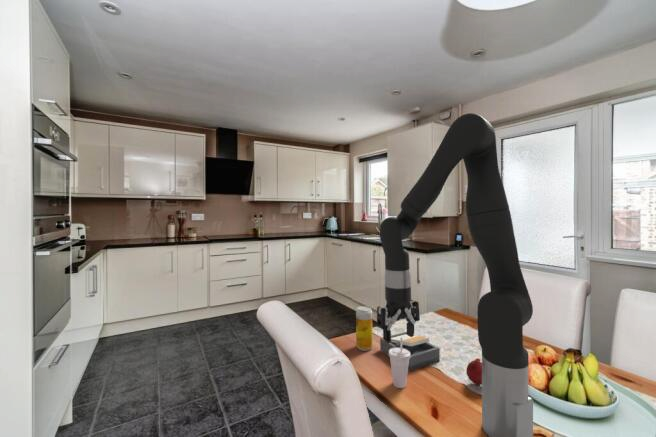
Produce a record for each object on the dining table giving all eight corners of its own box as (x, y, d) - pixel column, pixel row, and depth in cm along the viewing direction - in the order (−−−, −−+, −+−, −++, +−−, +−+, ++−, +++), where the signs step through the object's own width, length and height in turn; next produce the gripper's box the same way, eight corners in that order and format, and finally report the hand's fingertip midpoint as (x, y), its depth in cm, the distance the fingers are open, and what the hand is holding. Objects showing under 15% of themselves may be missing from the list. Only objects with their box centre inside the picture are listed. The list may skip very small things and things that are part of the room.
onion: (476, 392, 82) (476, 364, 82) (462, 381, 88) (462, 355, 87) (493, 389, 84) (493, 361, 83) (478, 378, 89) (477, 352, 89)
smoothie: (411, 392, 83) (411, 343, 82) (388, 389, 84) (388, 341, 84) (409, 379, 89) (409, 334, 89) (388, 377, 90) (388, 332, 90)
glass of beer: (353, 346, 112) (353, 307, 111) (366, 342, 114) (366, 305, 114) (361, 352, 106) (361, 312, 106) (375, 349, 109) (375, 309, 108)
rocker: (431, 343, 100) (430, 336, 101) (409, 349, 96) (408, 342, 96) (408, 339, 111) (407, 333, 111) (387, 344, 106) (386, 338, 107)
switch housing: (439, 361, 100) (439, 348, 99) (410, 370, 94) (410, 357, 94) (407, 342, 114) (407, 331, 114) (380, 350, 108) (380, 338, 108)
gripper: (386, 290, 79) (388, 349, 79) (425, 283, 86) (426, 338, 86) (370, 285, 86) (372, 339, 86) (407, 279, 93) (408, 330, 93)
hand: (399, 339), depth 86 cm, fingers open, 8 cm apart
